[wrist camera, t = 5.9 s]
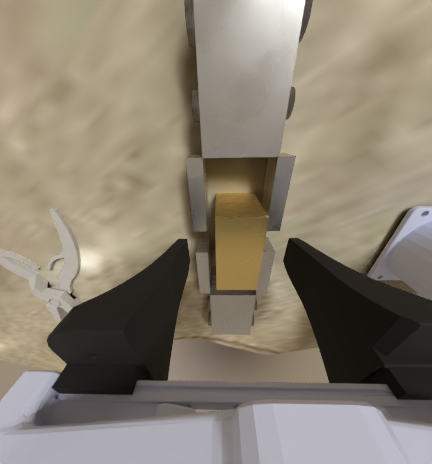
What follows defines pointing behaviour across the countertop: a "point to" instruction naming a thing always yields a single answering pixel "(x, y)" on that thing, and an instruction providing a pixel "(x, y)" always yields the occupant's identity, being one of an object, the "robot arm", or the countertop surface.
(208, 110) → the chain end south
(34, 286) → the pliers
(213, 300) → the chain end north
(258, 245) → the brushed brass bar
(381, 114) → the countertop surface
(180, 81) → the countertop surface
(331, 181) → the countertop surface
